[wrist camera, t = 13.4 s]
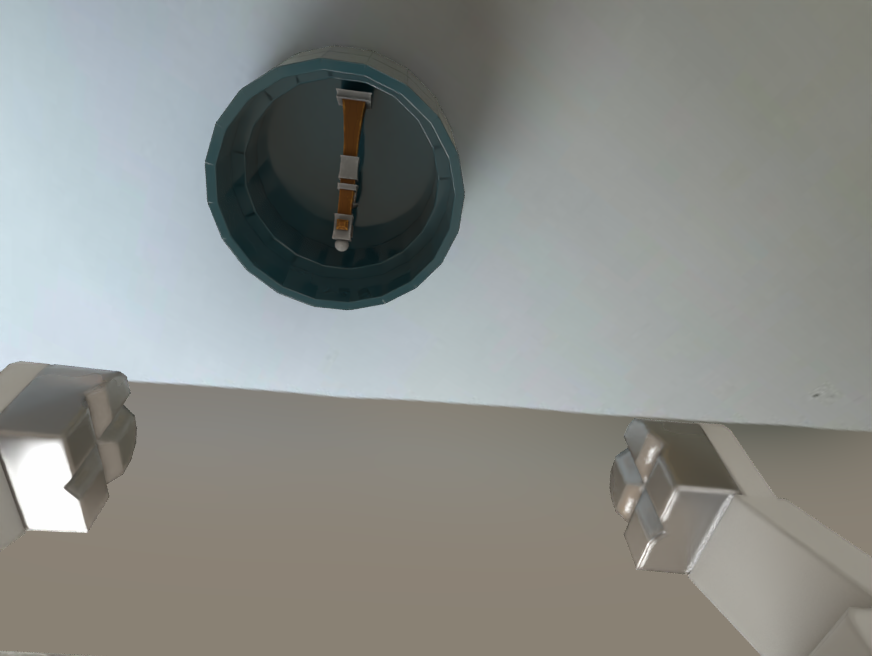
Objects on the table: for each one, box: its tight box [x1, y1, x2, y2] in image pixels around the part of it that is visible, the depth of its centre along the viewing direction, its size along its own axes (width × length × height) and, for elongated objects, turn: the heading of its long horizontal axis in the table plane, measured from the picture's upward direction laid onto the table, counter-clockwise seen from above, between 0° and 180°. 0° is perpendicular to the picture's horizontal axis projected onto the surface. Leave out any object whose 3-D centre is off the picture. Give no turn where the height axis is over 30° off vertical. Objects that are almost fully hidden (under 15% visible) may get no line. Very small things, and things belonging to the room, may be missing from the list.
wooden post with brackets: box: [332, 88, 373, 251], centre depth 31 cm, size 2×8×4 cm, turn 172°
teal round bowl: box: [205, 45, 465, 310], centre depth 30 cm, size 12×12×6 cm
